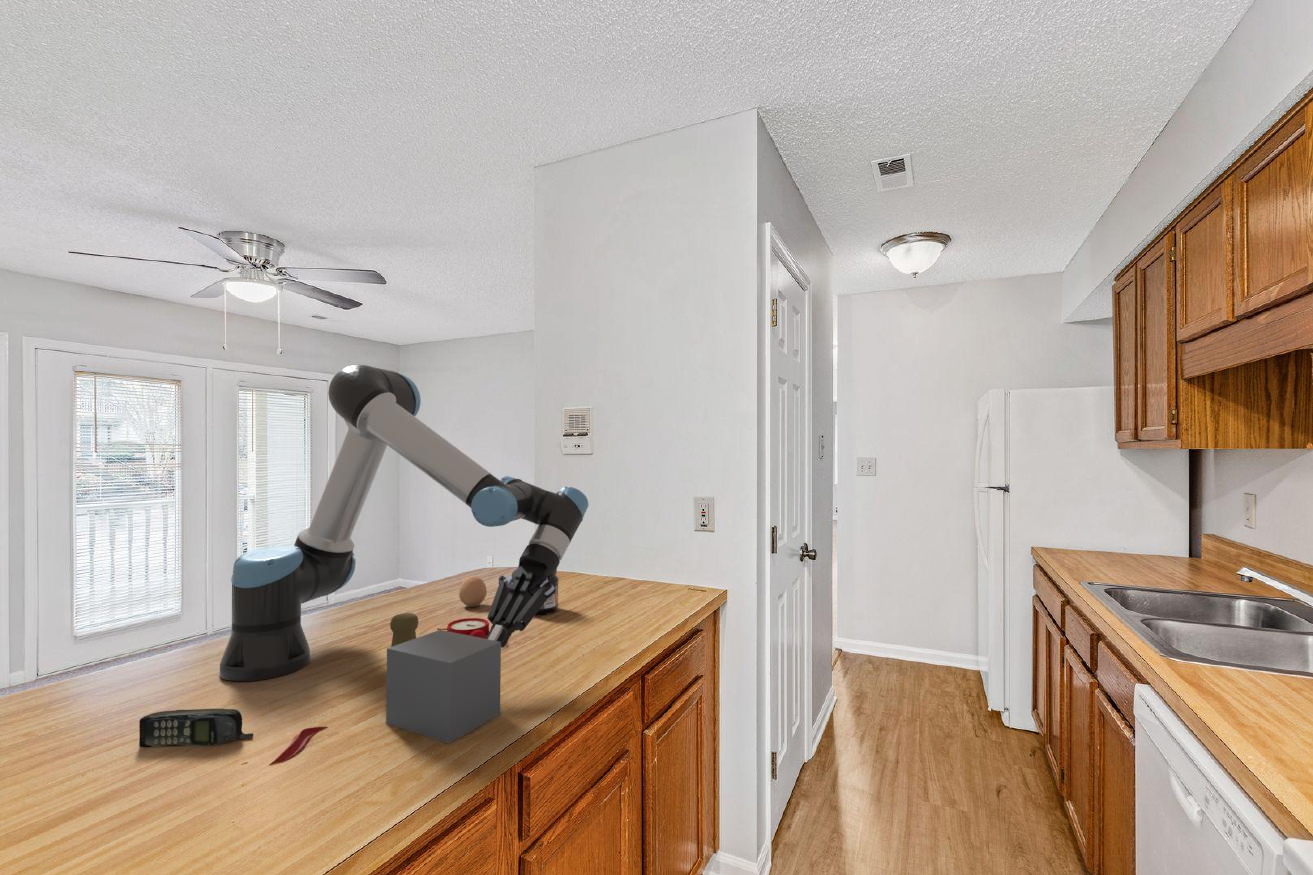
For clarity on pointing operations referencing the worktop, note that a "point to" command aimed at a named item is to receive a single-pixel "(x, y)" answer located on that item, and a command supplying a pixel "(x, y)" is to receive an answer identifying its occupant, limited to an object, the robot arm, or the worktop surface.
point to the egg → (472, 591)
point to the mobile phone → (191, 728)
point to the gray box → (443, 684)
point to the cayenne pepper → (297, 744)
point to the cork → (403, 628)
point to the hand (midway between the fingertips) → (484, 661)
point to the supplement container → (551, 598)
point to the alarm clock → (469, 627)
